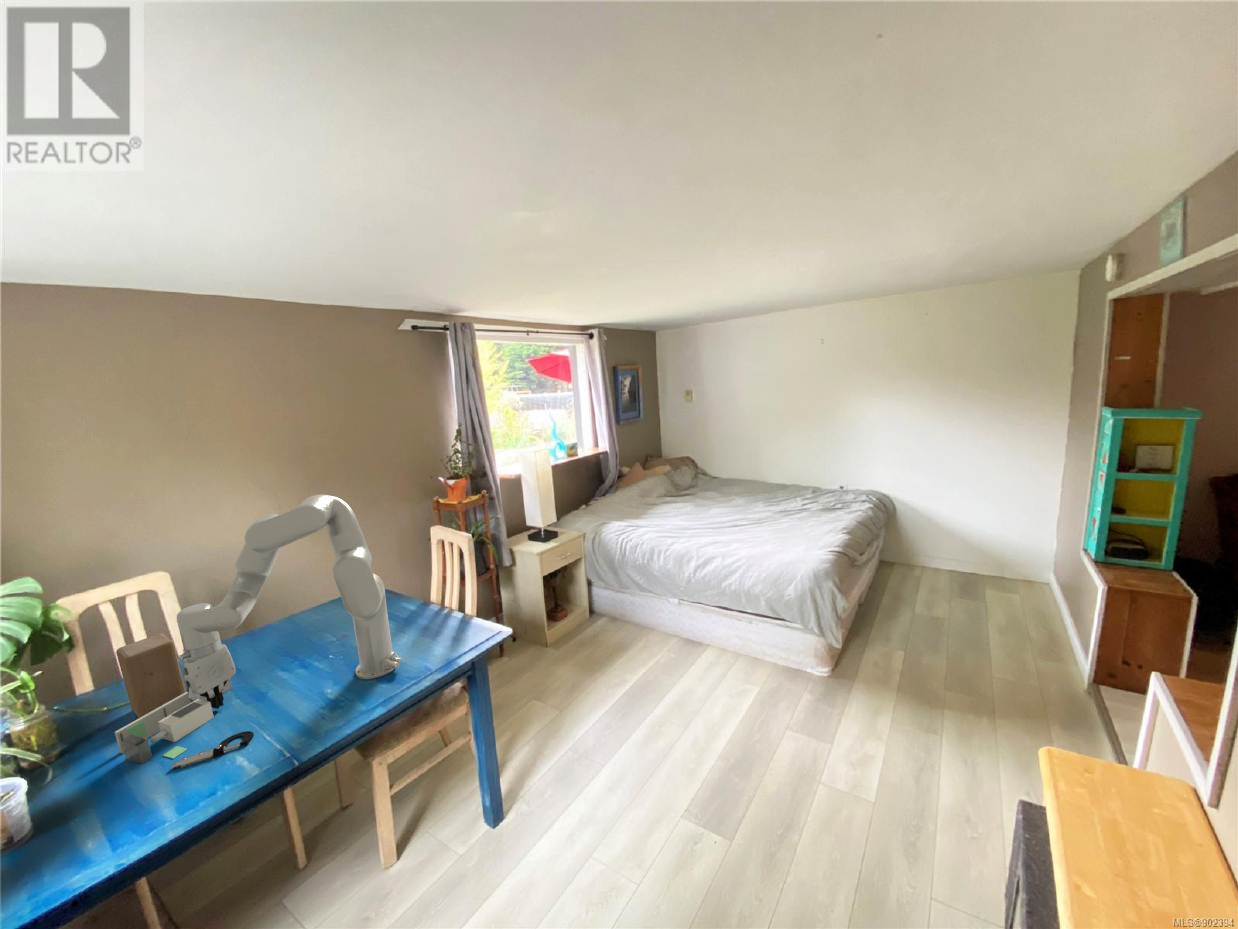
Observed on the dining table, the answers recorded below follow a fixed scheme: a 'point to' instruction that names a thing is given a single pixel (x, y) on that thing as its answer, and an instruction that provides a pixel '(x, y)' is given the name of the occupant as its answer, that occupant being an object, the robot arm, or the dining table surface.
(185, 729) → the white slotted box
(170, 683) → the wooden block
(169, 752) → the green flat block
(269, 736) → the dining table surface
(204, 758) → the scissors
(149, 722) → the scale board
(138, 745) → the grey faceted block
